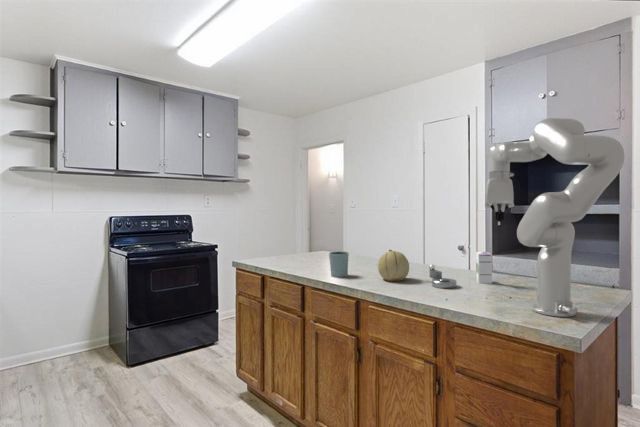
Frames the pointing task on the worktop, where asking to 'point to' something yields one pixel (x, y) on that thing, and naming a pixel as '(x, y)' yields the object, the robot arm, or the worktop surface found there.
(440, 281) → the silver door handle
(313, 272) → the worktop surface
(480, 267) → the syrup box
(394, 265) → the cantaloupe
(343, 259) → the drinking glass
